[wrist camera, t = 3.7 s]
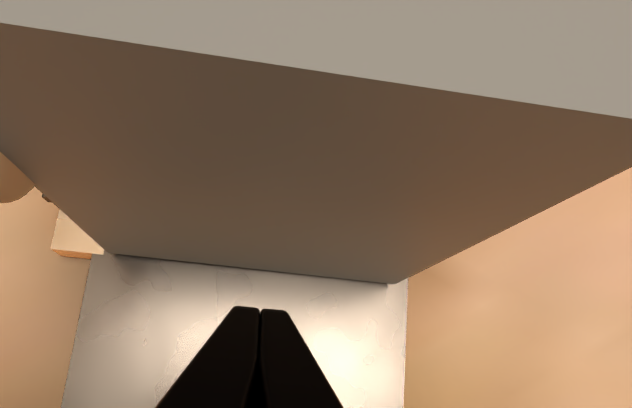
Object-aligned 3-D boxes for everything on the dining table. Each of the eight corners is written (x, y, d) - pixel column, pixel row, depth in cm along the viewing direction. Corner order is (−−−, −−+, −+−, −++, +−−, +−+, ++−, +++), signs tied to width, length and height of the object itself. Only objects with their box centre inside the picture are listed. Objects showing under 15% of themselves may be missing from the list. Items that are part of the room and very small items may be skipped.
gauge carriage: (393, 309, 16) (714, 196, 5) (32, 271, 15) (-464, 35, 4) (402, 124, 17) (658, -237, 7) (77, 78, 16) (-199, -437, 6)
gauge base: (387, 546, 15) (398, 559, 14) (0, 525, 14) (-17, 538, 13) (414, -93, 22) (423, -116, 21) (149, -144, 21) (144, -170, 20)
